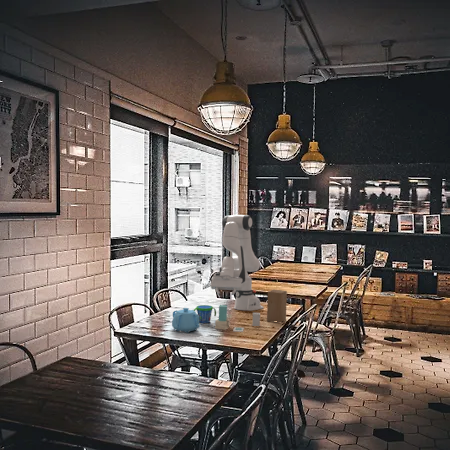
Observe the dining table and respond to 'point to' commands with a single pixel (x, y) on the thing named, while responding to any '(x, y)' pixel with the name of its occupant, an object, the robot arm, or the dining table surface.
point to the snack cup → (205, 313)
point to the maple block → (222, 324)
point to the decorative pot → (185, 320)
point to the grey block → (256, 319)
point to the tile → (238, 329)
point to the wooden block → (276, 305)
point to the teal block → (222, 312)
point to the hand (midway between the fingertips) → (225, 294)
